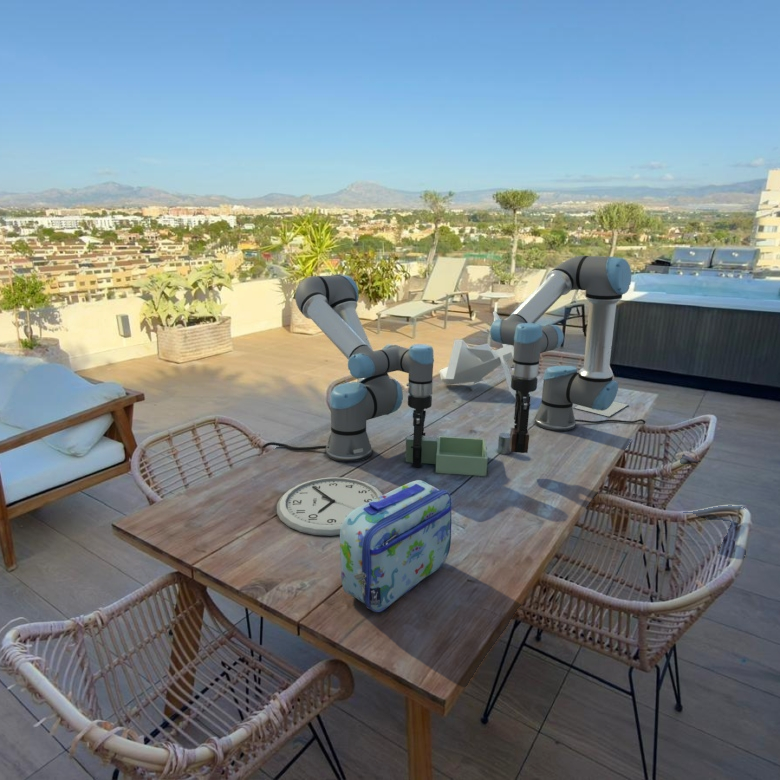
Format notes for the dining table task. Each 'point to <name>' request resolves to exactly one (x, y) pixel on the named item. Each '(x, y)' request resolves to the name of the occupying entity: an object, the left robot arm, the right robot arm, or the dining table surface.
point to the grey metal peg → (504, 443)
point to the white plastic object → (476, 362)
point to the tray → (452, 454)
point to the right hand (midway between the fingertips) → (518, 448)
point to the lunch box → (394, 543)
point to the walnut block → (513, 440)
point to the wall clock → (323, 504)
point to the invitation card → (608, 412)
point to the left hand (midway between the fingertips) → (417, 460)
